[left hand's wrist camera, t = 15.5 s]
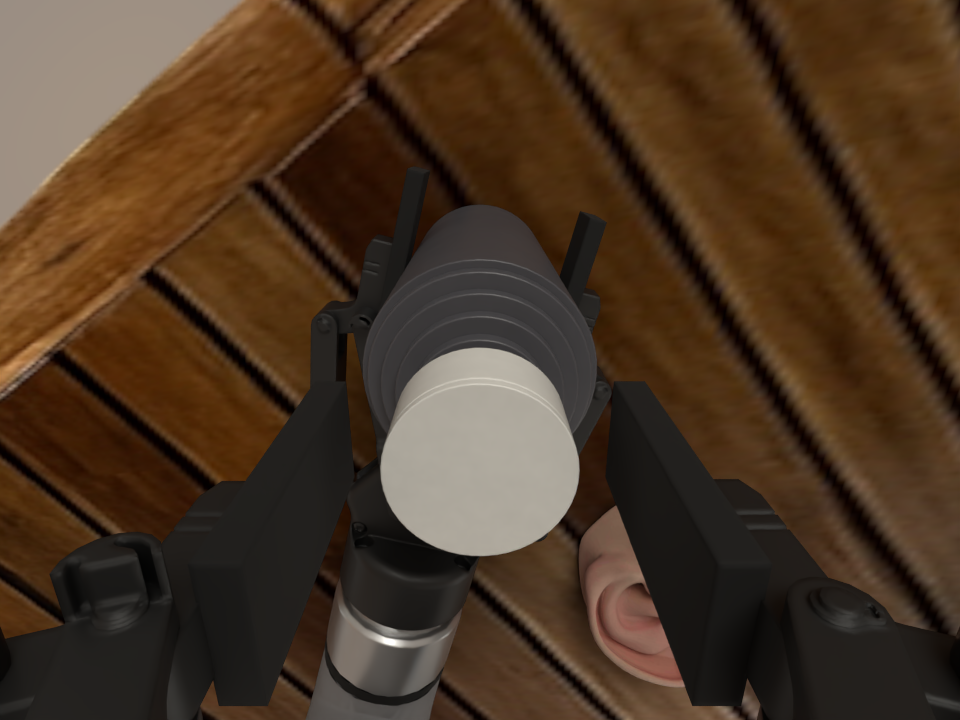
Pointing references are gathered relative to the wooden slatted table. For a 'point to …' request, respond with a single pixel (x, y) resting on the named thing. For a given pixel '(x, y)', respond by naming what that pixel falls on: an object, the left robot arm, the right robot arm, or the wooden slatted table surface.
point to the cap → (479, 454)
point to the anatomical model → (623, 604)
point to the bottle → (479, 311)
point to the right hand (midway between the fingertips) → (507, 194)
